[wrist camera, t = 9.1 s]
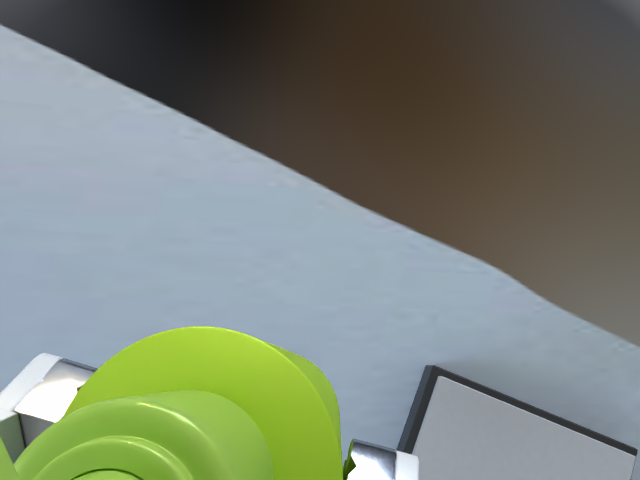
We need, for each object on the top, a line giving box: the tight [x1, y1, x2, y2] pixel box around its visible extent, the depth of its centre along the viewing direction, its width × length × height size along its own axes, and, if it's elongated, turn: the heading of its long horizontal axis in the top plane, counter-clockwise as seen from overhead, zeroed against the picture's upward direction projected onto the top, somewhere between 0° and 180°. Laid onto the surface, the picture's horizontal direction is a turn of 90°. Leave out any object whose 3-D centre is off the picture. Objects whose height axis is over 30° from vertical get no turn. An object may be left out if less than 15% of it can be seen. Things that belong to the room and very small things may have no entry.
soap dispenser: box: [0, 327, 343, 480], centre depth 13 cm, size 6×7×20 cm
